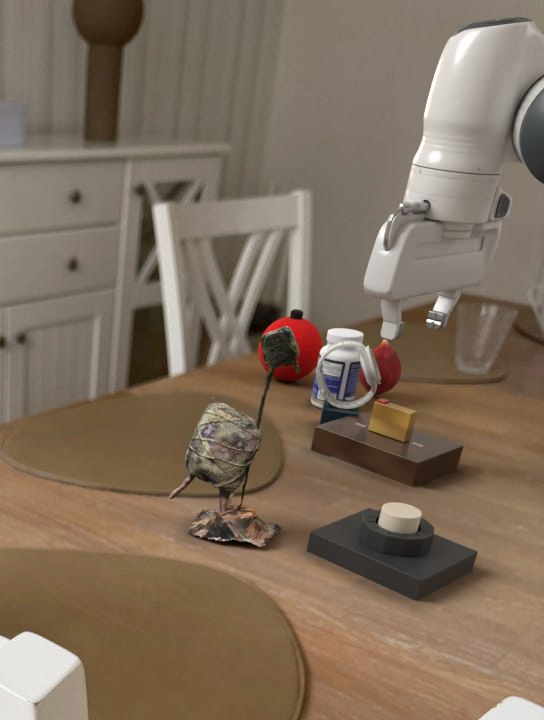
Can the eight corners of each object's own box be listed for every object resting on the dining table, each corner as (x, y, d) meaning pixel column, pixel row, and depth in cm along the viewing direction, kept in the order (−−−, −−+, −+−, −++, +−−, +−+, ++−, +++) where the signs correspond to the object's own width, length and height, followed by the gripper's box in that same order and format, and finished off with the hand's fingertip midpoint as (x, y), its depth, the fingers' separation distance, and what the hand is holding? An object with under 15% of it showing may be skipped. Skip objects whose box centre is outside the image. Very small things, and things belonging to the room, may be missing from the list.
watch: (369, 440, 122) (389, 352, 117) (304, 431, 124) (321, 344, 118) (368, 426, 127) (388, 341, 121) (306, 418, 129) (323, 333, 123)
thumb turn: (410, 440, 115) (418, 409, 113) (404, 442, 114) (412, 411, 112) (374, 427, 118) (381, 397, 116) (367, 429, 117) (374, 399, 115)
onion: (401, 398, 139) (416, 341, 135) (382, 406, 136) (396, 348, 131) (365, 388, 143) (378, 332, 138) (345, 395, 139) (357, 338, 135)
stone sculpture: (195, 501, 103) (223, 306, 93) (292, 535, 97) (333, 331, 87) (152, 524, 97) (176, 319, 87) (252, 561, 92) (291, 347, 81)
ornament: (326, 381, 144) (340, 311, 139) (298, 393, 138) (312, 321, 133) (271, 367, 149) (283, 299, 144) (242, 378, 143) (254, 308, 137)
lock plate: (457, 469, 116) (464, 444, 114) (411, 487, 110) (418, 461, 109) (357, 434, 125) (362, 410, 123) (310, 449, 119) (315, 424, 117)
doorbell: (472, 572, 93) (484, 533, 91) (415, 602, 87) (427, 562, 85) (364, 527, 100) (373, 490, 98) (305, 551, 94) (313, 513, 92)
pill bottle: (341, 398, 137) (357, 326, 132) (358, 412, 133) (375, 338, 127) (303, 398, 136) (317, 326, 131) (319, 412, 132) (334, 337, 126)
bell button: (424, 529, 92) (429, 512, 91) (403, 538, 89) (408, 521, 88) (391, 515, 94) (395, 499, 93) (370, 524, 92) (374, 507, 91)
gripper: (422, 208, 94) (386, 351, 102) (521, 200, 106) (482, 329, 114) (366, 197, 98) (336, 336, 105) (468, 191, 110) (434, 316, 118)
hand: (413, 332), depth 110 cm, fingers open, 8 cm apart
